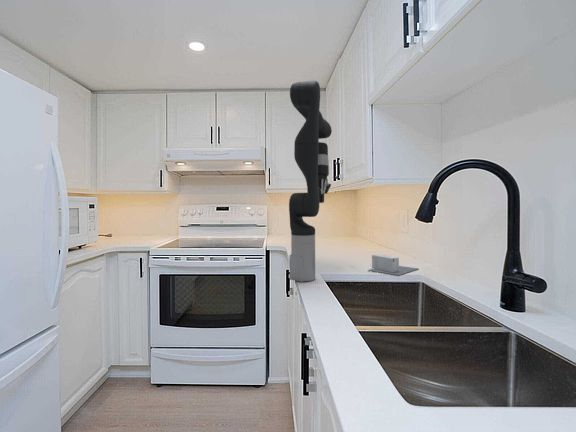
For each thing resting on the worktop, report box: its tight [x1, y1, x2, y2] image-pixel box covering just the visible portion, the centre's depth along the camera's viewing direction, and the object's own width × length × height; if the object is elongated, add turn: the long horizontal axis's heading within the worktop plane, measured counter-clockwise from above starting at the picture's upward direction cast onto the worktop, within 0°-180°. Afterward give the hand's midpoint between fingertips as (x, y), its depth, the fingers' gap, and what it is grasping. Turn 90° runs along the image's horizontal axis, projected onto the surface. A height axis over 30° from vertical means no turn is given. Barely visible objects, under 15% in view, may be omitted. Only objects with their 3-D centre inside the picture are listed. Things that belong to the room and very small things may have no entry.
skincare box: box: [371, 253, 400, 272], centre depth 146 cm, size 6×4×12 cm
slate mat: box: [367, 265, 419, 277], centre depth 147 cm, size 18×14×1 cm
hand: (321, 202), depth 157 cm, fingers closed
